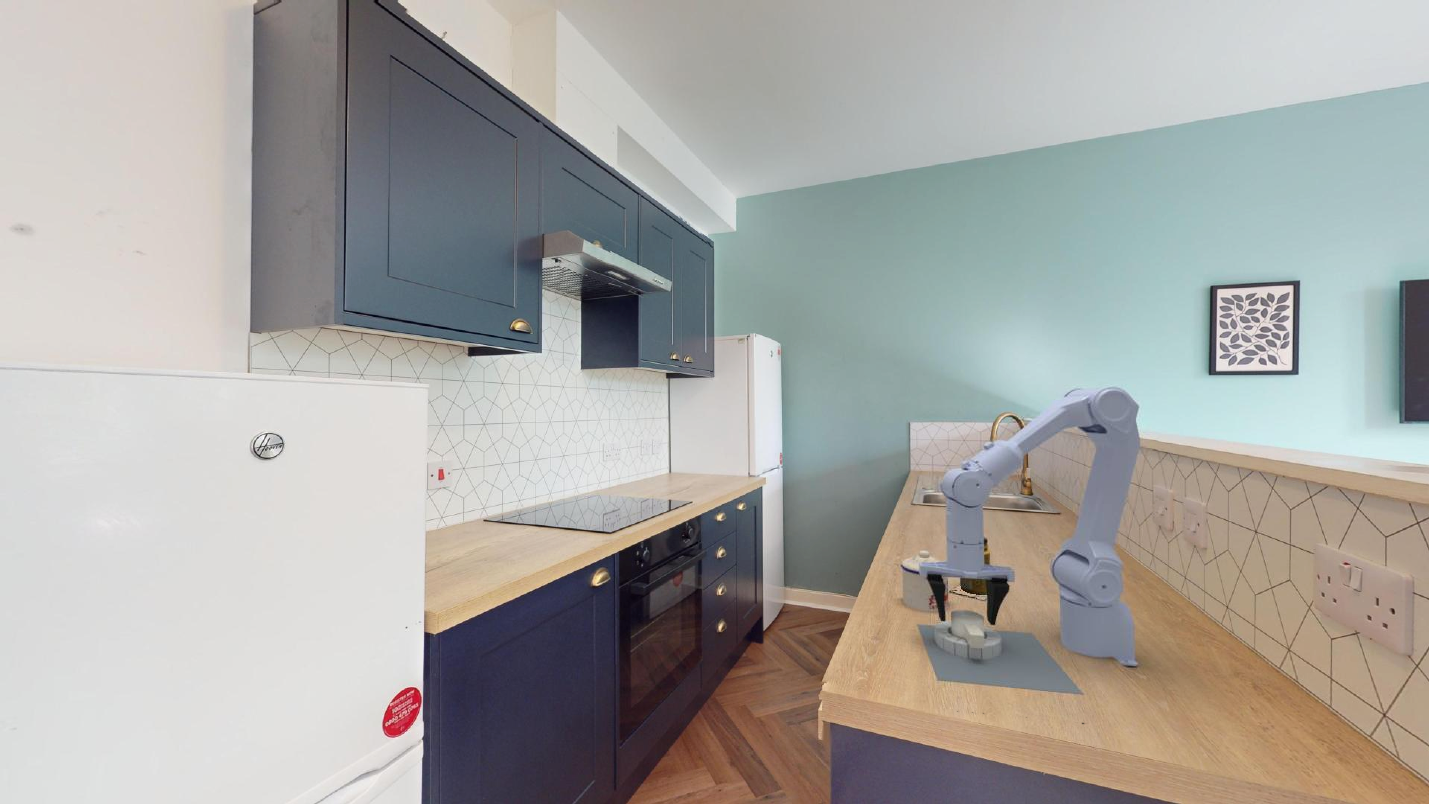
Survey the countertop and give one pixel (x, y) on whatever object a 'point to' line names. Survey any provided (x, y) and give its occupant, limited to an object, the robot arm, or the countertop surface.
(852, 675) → the countertop surface
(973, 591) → the condiment
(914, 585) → the teacup with lid
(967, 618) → the cream post on cylinder
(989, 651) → the stand
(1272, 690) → the countertop surface
